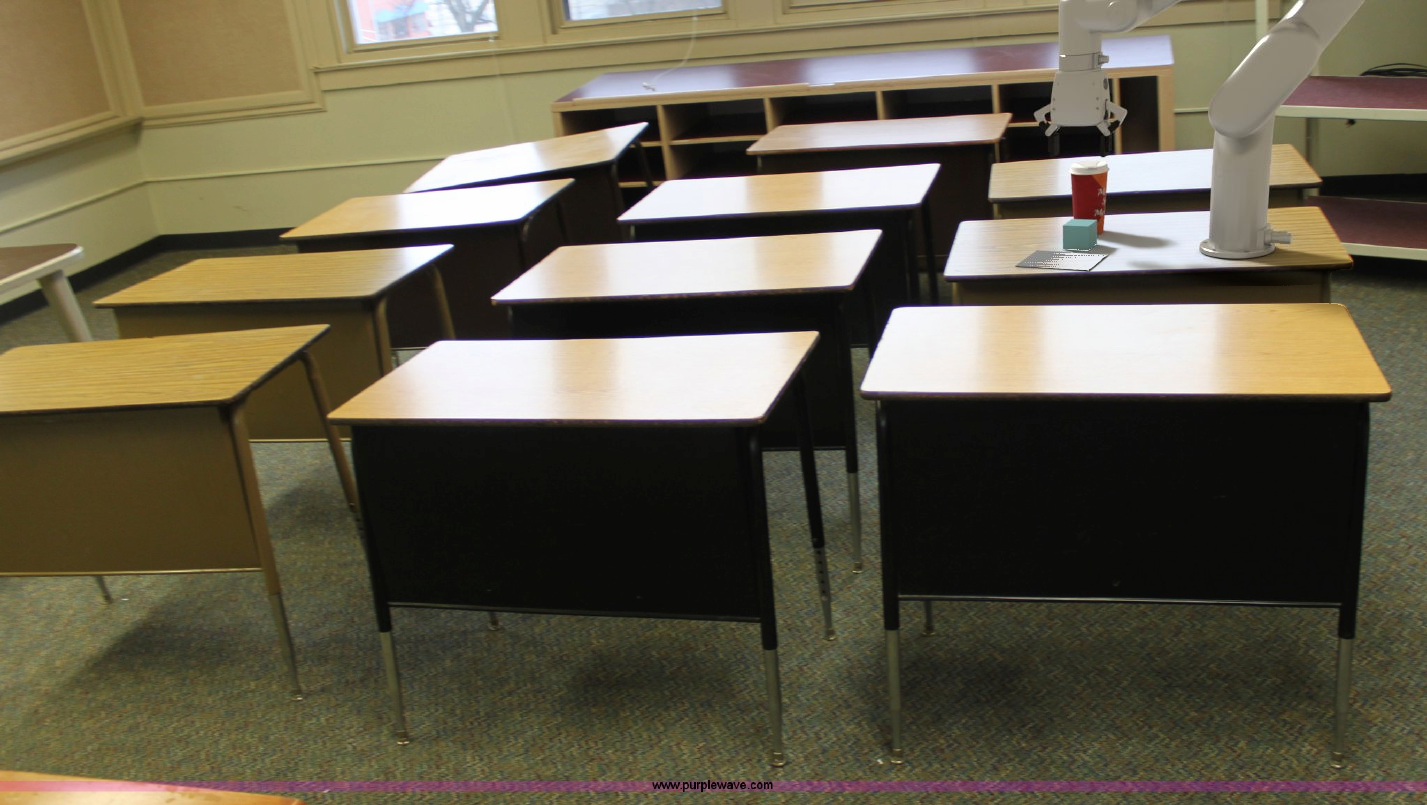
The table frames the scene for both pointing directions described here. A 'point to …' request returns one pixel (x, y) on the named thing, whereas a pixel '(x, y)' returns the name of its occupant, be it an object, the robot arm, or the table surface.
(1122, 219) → the table surface
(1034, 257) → the slate mat
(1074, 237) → the teal block
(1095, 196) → the paper cup
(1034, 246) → the table surface
